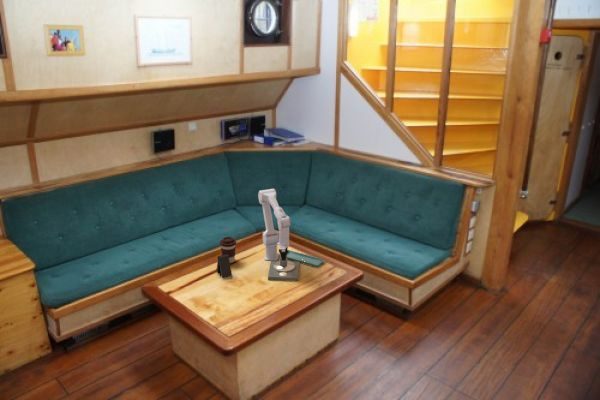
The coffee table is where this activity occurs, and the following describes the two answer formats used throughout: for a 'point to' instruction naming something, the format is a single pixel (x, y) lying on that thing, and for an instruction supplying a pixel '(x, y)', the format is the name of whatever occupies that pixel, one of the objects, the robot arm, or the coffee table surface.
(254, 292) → the coffee table surface
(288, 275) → the scale base
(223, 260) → the phone stand
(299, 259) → the rectangular tray
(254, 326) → the coffee table surface
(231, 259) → the coffee cup
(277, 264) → the scale pan
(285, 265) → the cylinder
